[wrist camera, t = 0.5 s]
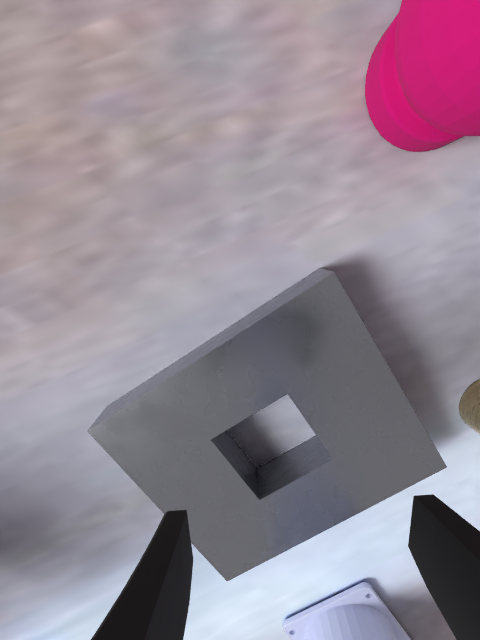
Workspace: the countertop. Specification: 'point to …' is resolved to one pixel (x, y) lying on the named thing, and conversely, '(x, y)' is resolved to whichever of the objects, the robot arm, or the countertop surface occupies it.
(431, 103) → the pepper mill
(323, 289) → the plate
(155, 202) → the countertop surface
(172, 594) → the robot arm
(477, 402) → the brass cylinder
